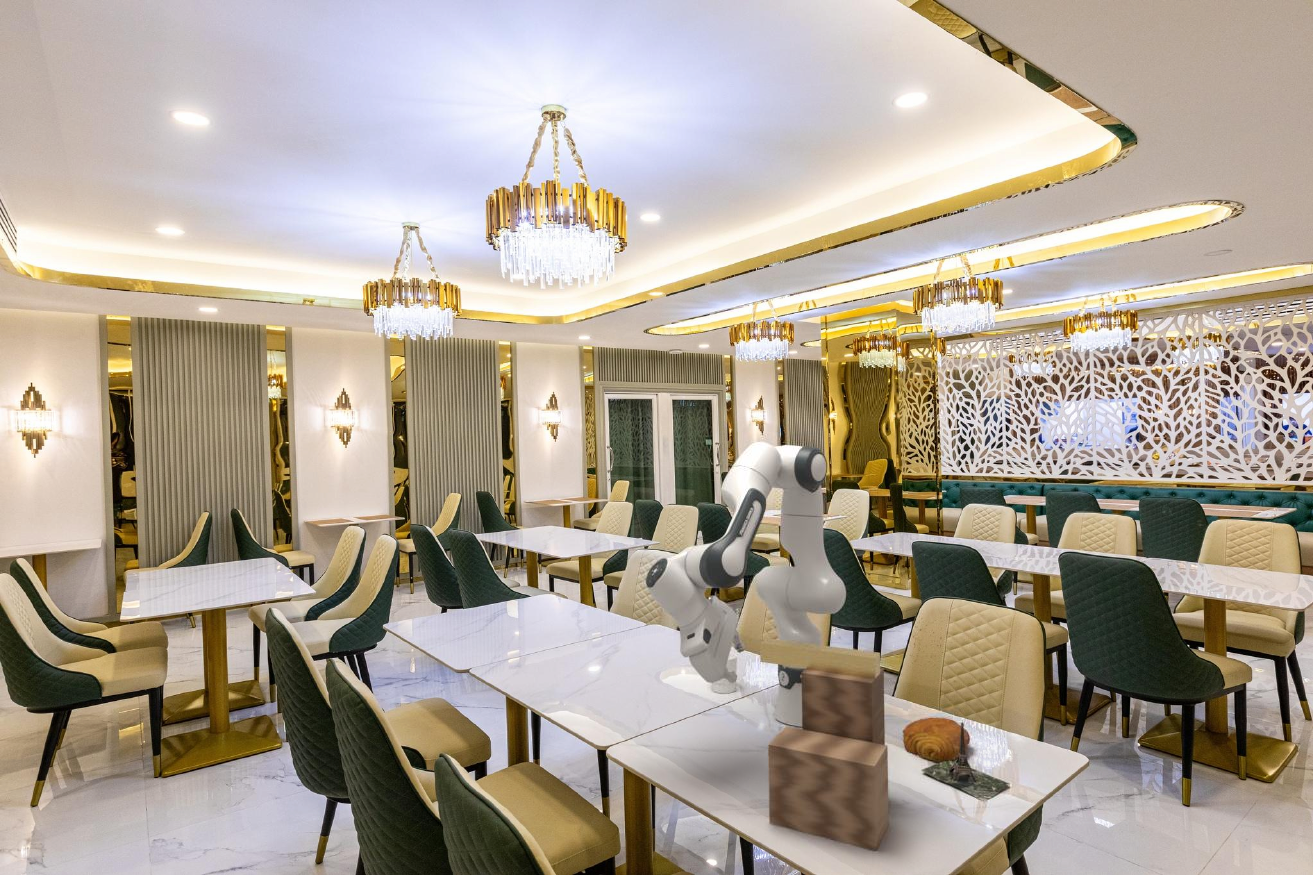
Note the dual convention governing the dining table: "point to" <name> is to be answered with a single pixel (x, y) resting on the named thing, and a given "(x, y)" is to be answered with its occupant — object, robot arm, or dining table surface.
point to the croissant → (934, 738)
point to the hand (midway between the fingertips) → (738, 664)
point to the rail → (820, 657)
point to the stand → (833, 762)
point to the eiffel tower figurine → (966, 775)
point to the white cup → (724, 684)
